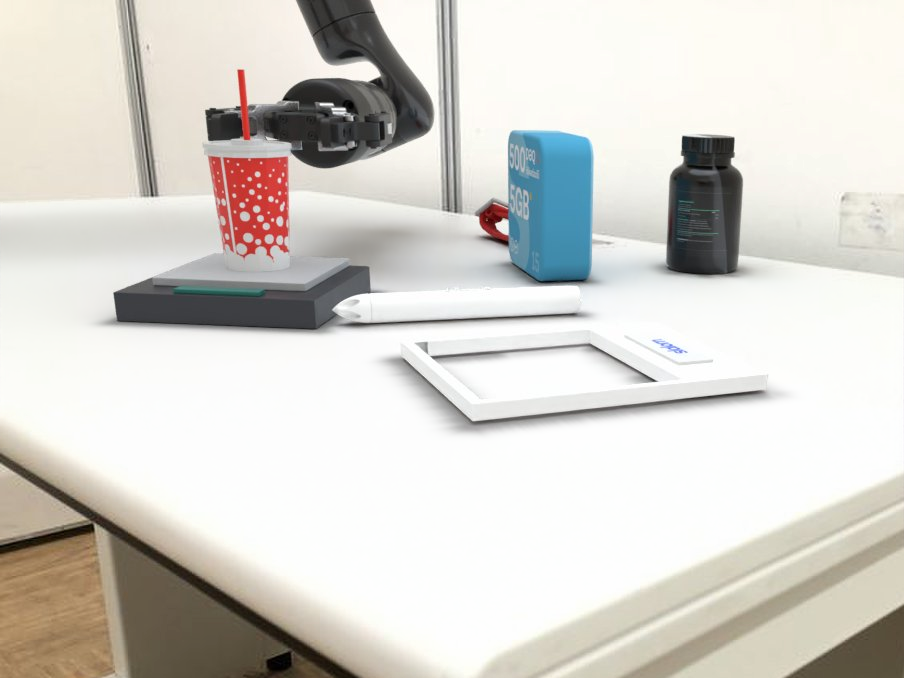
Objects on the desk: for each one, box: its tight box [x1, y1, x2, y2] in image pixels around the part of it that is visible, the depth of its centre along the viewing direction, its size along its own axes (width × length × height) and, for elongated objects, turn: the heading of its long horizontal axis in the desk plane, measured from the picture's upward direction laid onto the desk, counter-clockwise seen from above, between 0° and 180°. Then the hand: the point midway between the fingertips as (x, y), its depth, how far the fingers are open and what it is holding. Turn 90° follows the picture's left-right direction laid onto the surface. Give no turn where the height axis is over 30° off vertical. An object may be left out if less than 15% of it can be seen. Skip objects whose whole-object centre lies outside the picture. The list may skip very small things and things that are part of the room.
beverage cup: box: [201, 68, 293, 272], centre depth 81 cm, size 6×6×14 cm
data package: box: [507, 129, 595, 282], centre depth 98 cm, size 12×4×12 cm, turn 20°
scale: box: [112, 252, 372, 330], centre depth 83 cm, size 14×14×3 cm
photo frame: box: [399, 321, 769, 422], centre depth 67 cm, size 15×1×18 cm
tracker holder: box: [474, 197, 509, 243], centre depth 115 cm, size 12×4×10 cm
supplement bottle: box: [665, 133, 744, 275], centre depth 102 cm, size 7×7×12 cm
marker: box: [332, 285, 582, 324], centre depth 80 cm, size 18×2×2 cm, turn 111°
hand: (271, 131), depth 85 cm, fingers open, 8 cm apart
